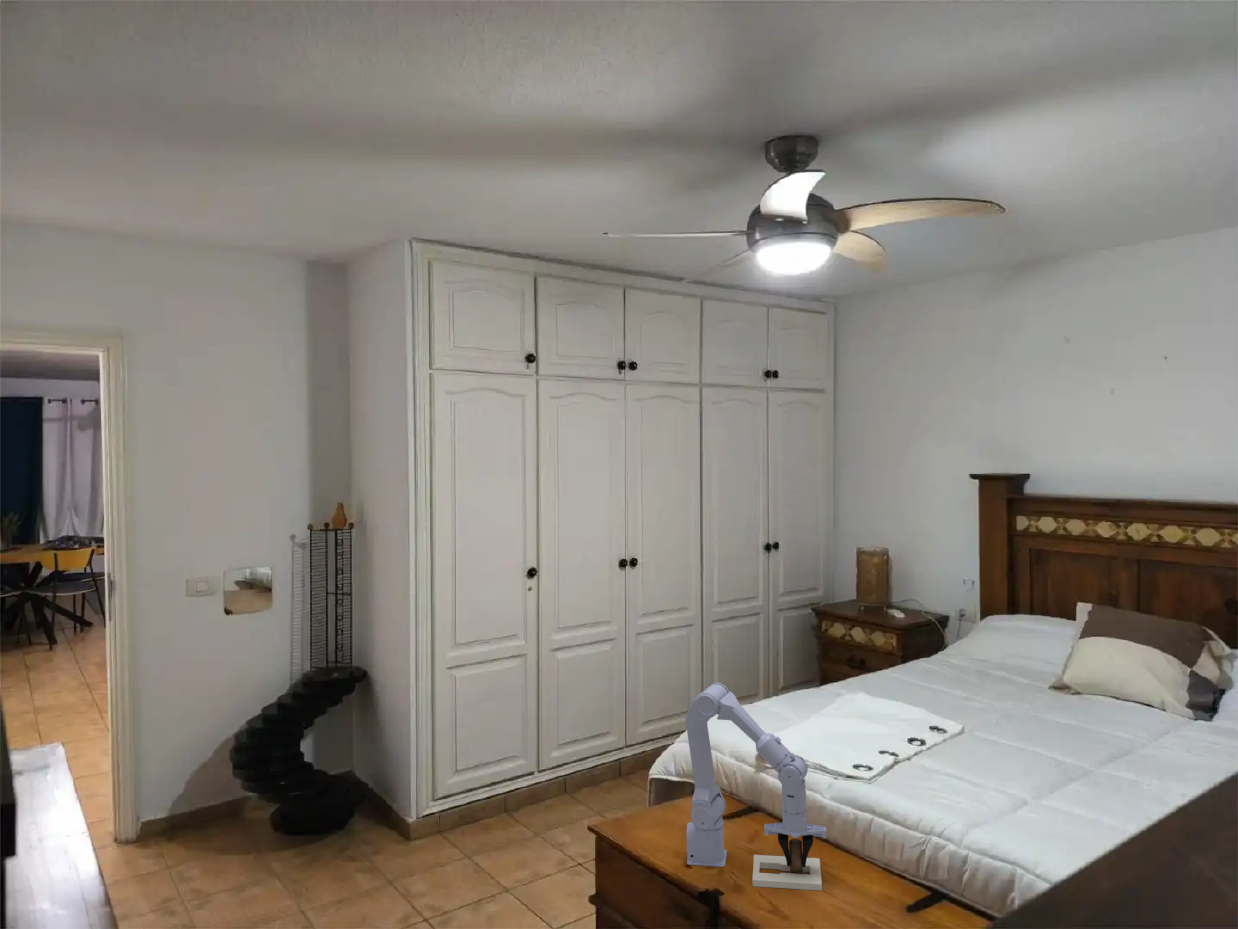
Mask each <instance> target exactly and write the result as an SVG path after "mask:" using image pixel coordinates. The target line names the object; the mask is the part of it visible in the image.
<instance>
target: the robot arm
mask: <svg viewBox="0 0 1238 929" xmlns="http://www.w3.org/2000/svg"><path fill="white" fill-rule="evenodd" d="M716 715H718V716H717V717H716V720H720V721H721V720H722V721H730V722H732V723H733V724H734V725H736V726H737V727H738V729H740V730H741V731H742V732H743V733H744V734H745V736H747V737H748V738H750V739H751V740H752V741H753V742H754V743H755V750H756V752H757V753H758V755H760V756H761V757H762V759H764V760H765V761H766V762H767V764H768V765H769V766H770V767H771V768H772V770H774V771H775V772H776V773H777V779H778V781H779V782H780V784H781V807H782V808H781V810H782V811H781V812H782V822H775V823H764V836H770V835H777V841H778V844H779V846H780V847H781V850H782V852H783V854H784V856H785V858H786V862H787V866H790V853H789V836H790V837H791V838H792V839H800V837H801V839H802V840H801V841H802V865H803V867H806V860H807V858H808V856H809V853H810V850H811V848H812V847H813V843H814V837H817V838H818V837H819V838H821V839H827V827H826V826H822V825H815V824H812V823H811V824H810V823H808V821H807V820H808V816H807V815H808V813H807V789H806V779H805V778H806V776H807V774H808V769H809V768H808V767H809V766H808V764H807V762H806V761H805V759H804V758H803V757H802V756H800V755H798V754H795V753H794V752H792V751H790V750H789V749H788V748H787V747H786V746H785V745H784V743H782V742H781V741H782V739H781V737H779V736H778V735H777V736H776V735H774V734H773V733H767V732H765V731H764V730H763V729H762V727H761V726H760V725H759V724H758V723H757V722H756V721H755V719H753V718H752V716H751V715H750V714H749V713H748V712H747V710H746V709H745V708H744V707H743V706H742V705H741V704H740V703H739V700H738V699H737V697H736V696H735V694H734V693H733V692H732V691H730V690H729V689H728V687H727V686H726V685H724V684H722V683H721V682H713V683H711V684H710V685H708V686H707V687H706V688H705V689H704V690H703V691H702V692H700V693H699V694H697V696H695V697H694V698H693V699H692V700H691V705H690V707H689V709H688V710H687V713H686V716H685V726H686V733H687V740H688V747H689V753H690V761H691V769H692V775H693V782H694V792H693V796H692V799H691V804H692V806H691V807H692V809H691V811H690V819H691V822H687V825H686V864H687V866H688V865H689V866H698V867H699V866H700V867H701V866H704V867H718V868H720V867H721V868H725V867H726V863H727V853H728V850H727V849H725V839H724V838H725V837H724V836H725V834H724V833H725V832H724V831H725V830H724V820H723V814H724V813H725V811H726V809H727V803H726V800H725V798H724V796H723V794H722V793H721V787H720V785H719V784H717V782H716V776H715V770H714V762H713V756H712V748H711V740H710V733H709V728H708V727H709V726H708V722H709V721H710V719H713V717H715V716H716Z"/></svg>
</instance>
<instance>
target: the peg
mask: <svg viewBox="0 0 1238 929" xmlns="http://www.w3.org/2000/svg"><path fill="white" fill-rule="evenodd" d="M788 842H789V855H790V871H789V873H794V874H804V872H803V865H802V852H803V843H802V840H801V839H800V838H791V839H788Z"/></svg>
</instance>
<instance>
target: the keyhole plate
mask: <svg viewBox="0 0 1238 929" xmlns="http://www.w3.org/2000/svg"><path fill="white" fill-rule="evenodd" d="M752 867H753V868H752V887H758V888H774V889H775V888H776V889H789V890H790V889H792V890H803V891H804V890H805V891H820V892H821V891H822V892H823V884H822V883H823V881H822V873H821V872H822V871H821V860H820V858H818V857H807V860H806V867H803V874H794V873H790V866H787V862H786V858H785V855H784V856H782V855H769V854H768V855H766V854H765V855H764V854H753V866H752ZM761 869H770V870H780V871H781V872H780V873H768V872H760V870H761ZM782 871H783V872H782ZM804 873H805V874H804Z"/></svg>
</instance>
